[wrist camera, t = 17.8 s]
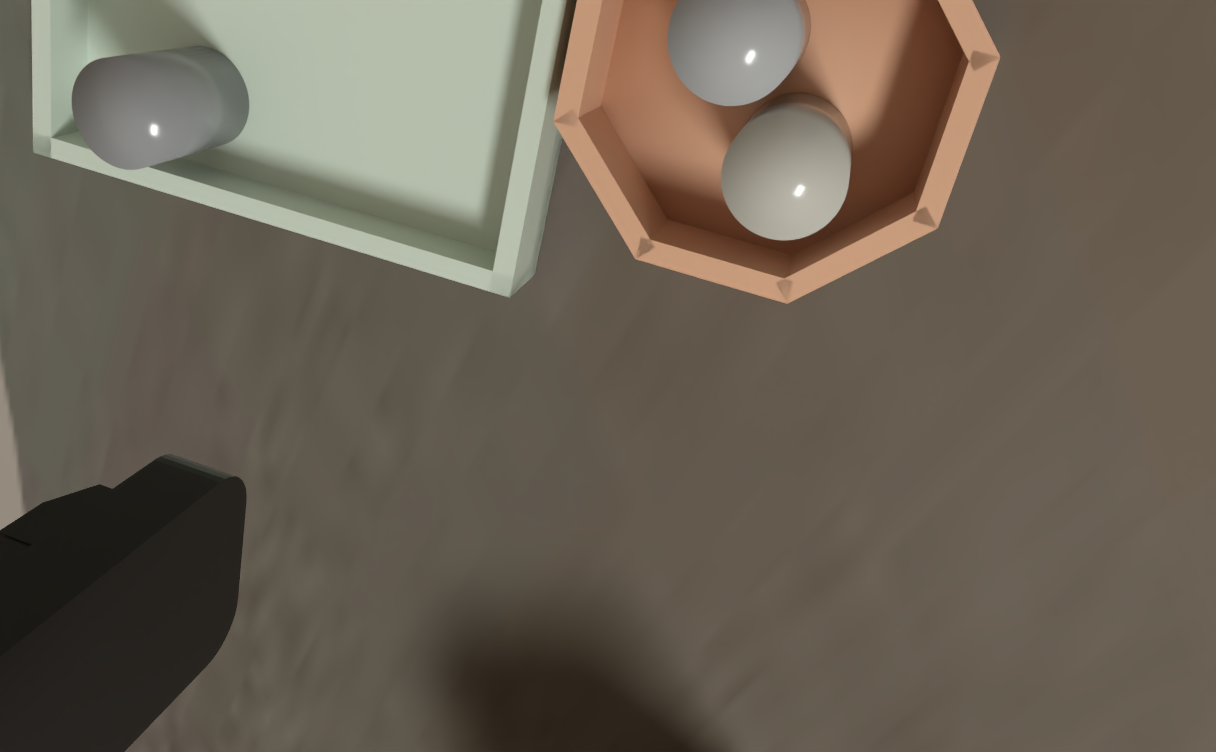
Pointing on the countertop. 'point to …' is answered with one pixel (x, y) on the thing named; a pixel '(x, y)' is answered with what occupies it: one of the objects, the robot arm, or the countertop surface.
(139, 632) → the robot arm
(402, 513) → the countertop surface
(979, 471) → the countertop surface
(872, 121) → the bowl
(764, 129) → the pebble
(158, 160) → the grey rounded knob
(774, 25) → the pebble
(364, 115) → the tray
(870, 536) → the countertop surface
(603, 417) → the countertop surface
